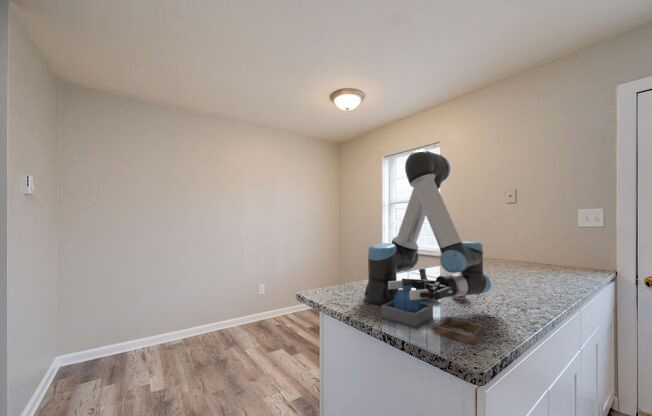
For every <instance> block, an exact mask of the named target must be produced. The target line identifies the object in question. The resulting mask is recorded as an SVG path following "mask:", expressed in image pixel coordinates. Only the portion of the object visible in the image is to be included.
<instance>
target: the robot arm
mask: <svg viewBox="0 0 652 416" xmlns="http://www.w3.org/2000/svg"><path fill="white" fill-rule="evenodd" d="M404 171H405V176H406V178H407V181H408V182H409V185H410V187H411V188H412V191H411V195H410V197H409V200H408V204H407V206H406V210H405V213H404V216H403V219H402V221H401V224H400V228H399V231H398V232H397V236H394V237H393V238H392V240H391V243H390V242H382V243H375V244H373V245H370V246H369V247H368V253H367V257H368V258H367V259H368V261H367V263H368V264H367V265H368V268H367V269H368V270H367V271H368V276H367V277H368V281H367V284H366V288H365V292H364V293H363V294H364V301H365V302H367V303H369V304H373V305H377V306H378V305H379V306H382V305H384V304H387V303H389V302H391V301H394V296H395V295H396V293H397V292H398V290H401V289H403V288H402V284H403V283H402V280H410V281H412V282H411V284H412V288H411V291H409V296H410V300H414V299H420V300H422V299H425V298H428V297H429V298H431V299H433V298H435V299H434V300H435V301H439V300H442V299H444V298H453V297H452V296H456V297H459V296H462V295H466V296H471V295H472V296H473V295H476V296H477V295H482V294H485V293H488V292H489V291H490V289H491V288H492V287H491V286H492V283H491V280H490V278H489V276H488V275H487V274H485V273H484V250H483V244H482V242H479V241H462V240H461V237H460V236H459V233H458V231H457V229H456V226H455V224H454V222H453V220H452V217H451V215H450V213H449V210H448V209H447V206H446V204H445V202H444V199H443V198H442V195H441V193H440V188H441V186H442V182H444V181H445V180H447V179H448V178H449V176H450V173H451V164H450V161H448V159H447V158H446V157H444V156H443V155H441V154H438V153H435V152H431V151H429V150H426V149H420V150H416V151H414V152H412V153H410V154H409V155H408V157H407V159H406V160H405V165H404ZM425 219H427V221H428V224H429V226H430V229H431V231H432V233H433V236H434V237H435V240H436V242H437V245H438V248H439V250H440V253H441V255H440V258H439V259H440V260H439V261H440V265H441V267H442V269H444V271H446V272H447V273H452V274H456V275H452V274H449V275H448V274H446V275H439V276H437V277H436V279H435V280H433V279H428V278H427V279H421V278H420V279H418V278H416V279H414V278H401V280H397V273H398V272H400V273H401V272H406V271H410V270H411V269H413V268H415V266H416V265H417V264H418V262H419V258H420V257H419V256H420V255H419V253H418V252H419V251H418V249H419V245H418V244H417V241H418V239H419V236H420V233H421V230H422V227H423V225H424V221H425ZM428 280H430V281H428ZM425 287H426V288H425ZM416 288H419V289H422V290H416ZM412 289H414V290H412ZM428 291H429V292H428Z"/></svg>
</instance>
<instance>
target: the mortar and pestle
mask: <svg viewBox="0 0 652 416" xmlns="http://www.w3.org/2000/svg"><path fill="white" fill-rule="evenodd" d="M418 272H419V276H420V279H428V277H427V273H426V269H425V268H419V270H418ZM430 280H431V279H428V281H430ZM425 288H426V287H425ZM415 290H422V289H419V288H415ZM428 292H429V291H428ZM421 300H423V301H434V300H435V298H433V299H431V298H429V297H428V298H425V299H421Z"/></svg>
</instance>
